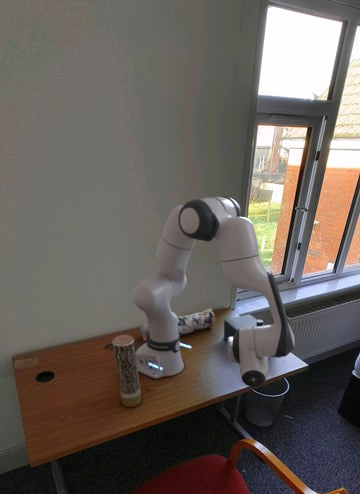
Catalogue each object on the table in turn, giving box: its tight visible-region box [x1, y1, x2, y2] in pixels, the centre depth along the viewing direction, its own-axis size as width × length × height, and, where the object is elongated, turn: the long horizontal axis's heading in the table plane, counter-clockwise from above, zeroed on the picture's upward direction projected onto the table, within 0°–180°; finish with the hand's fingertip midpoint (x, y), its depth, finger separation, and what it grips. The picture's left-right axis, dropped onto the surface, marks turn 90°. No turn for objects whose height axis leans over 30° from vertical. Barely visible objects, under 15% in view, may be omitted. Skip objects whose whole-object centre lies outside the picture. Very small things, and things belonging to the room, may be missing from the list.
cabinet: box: [223, 313, 266, 343], centre depth 157 cm, size 15×13×10 cm
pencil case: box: [177, 308, 216, 337], centre depth 169 cm, size 22×8×10 cm, turn 117°
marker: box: [256, 319, 264, 327], centre depth 146 cm, size 3×3×14 cm
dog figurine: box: [139, 322, 150, 341], centre depth 165 cm, size 5×13×11 cm, turn 92°
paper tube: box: [112, 334, 142, 408], centre depth 120 cm, size 7×7×25 cm
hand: (255, 336), depth 134 cm, fingers open, 8 cm apart
